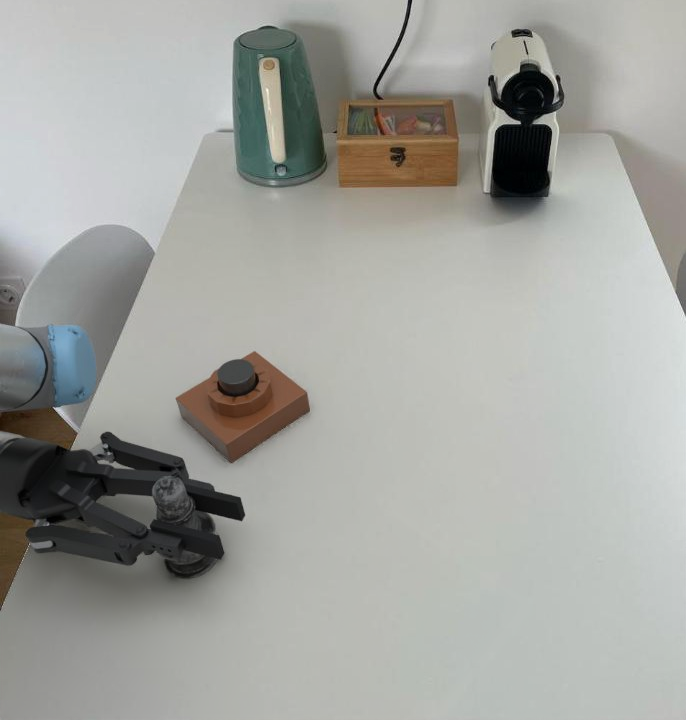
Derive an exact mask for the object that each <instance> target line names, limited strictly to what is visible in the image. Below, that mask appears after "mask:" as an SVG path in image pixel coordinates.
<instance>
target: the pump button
mask: <svg viewBox="0 0 686 720" xmlns="http://www.w3.org/2000/svg"><path fill="white" fill-rule="evenodd" d="M218 369H219V370H218V372H217V376H218V380H219V384H220V388H221V391H222V392H223V393H224V394H225V395H227V396H231V397H238V396H244V395H247V394H248V393H250V392H251V391H253V390H254V388H255V387H256V384H257V380H256V375H255V371H254V367H253V365H252V364H251V363H250V362H249V361H247V360H243V359H242V358H235V359H231V360H228V361H225V362H224V363H222V364H221V366H219V368H218Z"/></svg>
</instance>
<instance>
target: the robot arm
mask: <svg viewBox="0 0 686 720" xmlns="http://www.w3.org/2000/svg"><path fill="white" fill-rule="evenodd" d="M94 349H95V348H94V345H93V343H92V340H91V338H90V336H89V334H88V333H87V332H86V330H85V329H83V328H82V327H80V326H79V325H76V324H63V325H61V324H60V325H54V324H52V323H51V324H47V325H46V326H38V327H37V326H36V327H24V326H19V325H13V324H12V325H11V324H4V323H0V413H5V412H6V413H7V412H17V411H27V410H41V409H50V408H54V409H57V408H58V409H59V408H61V407H64V406H69V405H70V406H71V405H77V404H82V403H85V402H87V401H88V400H89V399H90V398H91V397H92V395H93V394H94V391H95V388H96V383H97V362H96V361H97V359H96V353H95V350H94ZM99 439H100V442H99V443H98V444H96V445H95V446H94V447H92V448H91V449H89V450H88V449H86V448H83V449H75V450H71V449H69V448H67V447H64V446H61V445H59V444H58V443H53V442H50V441H45V440H42V439H37V438H34V437H33V438H32V437H25V436H24V435H21V434H17V433H12V432H7V431H4V430H0V513H1V514H4V515H8V516H12V517H16V518H19V519H23V520H27V521H32V522H34V524H33V526H32V527H29V528H28V529H27V530H26V531H25V537H26V539H27V540H28V543H29V544H30V545H31V547H32V549H33V550H34V552H35V553H36V554H47V553H48V554H49V553H56V552H60V553H65V554H70V555H73V556H79V557H84V558H89V559H93V560H98V561H103V562H107V563H111V564H117V565H123V566H127V567H130V566H133V565H135V564H136V563H137V560H138V556H140V555H141V554H142V553H143V555H144V556H145V557H146V556H147V557H148V556H151V555H153V554H154V553H155V552H156V553H157V552H161V553H165V554H169V555H172V556H181V554H182V552H183V551H184V550H185V551H189V552H193V553H197V554H201V555H204V556H208V557H212V558H216V559H218V560H220V561H222V559H223V557H224V555H225V552H226V551H225V549H224V546H223V543H222V540H221V536H220V534H216V533H215V534H212V533H208V532H204V531H200V530H196V529H192V528H188V527H184V526H180V525H176V524H172V523H168V522H164V521H160V520H157V518H153V519H152V520H151V523H150V524H149V527H150V528H149V527H148V526H147V525H146V524H144V523H142V522H140V521H138V520H135V519H133V518H132V517H129V516H127V515H125V514H124V513H123V514H122V513H121V512H118V511H117V510H115V509H113V508H110V507H108V506H106V505H104V504H101V503H99V502H98V500H99V499H101V498H102V497H116V496H117V495H126V496H127V495H130V496H142V497H143V496H144V497H153V496H152V489H153V486H154V485H155V483H156V482H157V481H158V480H159V479H161V478H162V477H163V476H175V477H178V478H180V479H181V480H182V482H183V483H184V486H185V489H186V492H187V494H188V495H189V496H191V497H192V498H193V499H194V502H195V510H197V511H201V512H205V513H208V514H209V515H214V516H219V517H222V518H226V519H230V520H235V521H239V522H243V520H244V519H245V517H246V511H245V509H244V508H245V507H244V504H243V501H242V498H241V496H237V495H232V494H228V493H225V492H221V491H216V489H215V486H214V485H213V484H212V483H210V482H206V481H201V480H197V479H193V478H190V474H189V472H188V469H187V466H186V462H185V459H184V458H183V457H181V456H178V455H173V454H170V453H167V452H163V451H160V450H156V449H152V448H149V447H145V446H142V445H139V444H135V443H133V442H132V443H131V442H128V441H124V440H122V439H120V438H119V437H117V436H116V435H115V434H114V433H113V432H111V431H105V432H102V433H101V435H100V436H99ZM99 461H105V462H108V463H109V464H108V463H99ZM114 463H117V464H118V465H119V466H122V467H126V468H118V467H114V466H112V465H111V464H114ZM72 520H74V521H77V522H78V523H80V524H83V525H84V526H86V527H89V528H92V527H94V528H95V529H97V530H100V531H102V532H104V533H106V534H104V533H100V532H94V531H91V530H90V531H89V530H85V529H79V528H74V527H69V526H65V525H58V524H62V523H65V522H68V521H72Z"/></svg>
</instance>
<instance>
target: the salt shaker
mask: <svg viewBox="0 0 686 720" xmlns="http://www.w3.org/2000/svg"><path fill="white" fill-rule="evenodd" d="M151 497H152V498H153V501H154V504H155V512H154V514H155V515H154V516H155V519H156V520H160V521H164V522H168V523H172V524H176V525H180V526H184V527H188V528H192V529H196V530H200V531H204V532H208V533H212V534H216V532H217V529H216V527H217V526H216V522H215V520H214V518H213V516H211V514H210V513H205V512H201V511H197V510H195V502H194V499H193V498H192V497H191V496H189V495H188V494H187V492H186V489H185V486H184V483H183V482H182V480H181V479H180V478H178V477H175V476H163V477H162V478H161V479H159V480H158V481H157V482H156V483H155V485H154V486H153V489H152V496H151ZM156 553H157V554H158V555H159V556H160V557H162V558H163V559H164V565H165V568H166V570H167V571H168V573H169V574H171V575H172V576H174V577H175V578H178V579H184V580H185V579H186V580H187V579H188V580H189V579H195V578H198V577H201V576H203V575H205V574H206V573H208V572H210V570H211V569H212V568H213V567H214V566H215V565H216V563H217V561H218V560H219V559H216V558H212V557H208V556H204V555H201V554H197V553H193V552H189V551H185V550H184V551H183V552H182V554H181V556H172V555H169V554H165V553H161V552H157V551H156Z"/></svg>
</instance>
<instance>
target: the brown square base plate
mask: <svg viewBox="0 0 686 720" xmlns="http://www.w3.org/2000/svg"><path fill="white" fill-rule="evenodd" d="M241 359H243V360H247V361H249V362H250V363H251V364H252V365H253V367H254V371H255V375H256V380H257V384H256V387H255V388H254V390H253V391H251V392H250V393H248V394H247V395H244V396H238V397H231V396H227V395H225V394H224V393H223V392H222V391H221V388H220V384H219V380H218V376H217V372H218V370H219V368H217V369H215V370H213V372H212V374H211V375H210V377H208V378H206V379H205V380H203V381H201V382H200V383H197V384H196V385H195V386H193V387H190V389H188V390H186V391H184V392H183V393H181V394H179V395H178V396H176V397H175V402H176V405H177V407H178V410H179V413H180V417H182V419H184V420H185V421H186V422H187V423H188V424H189V426H191V427H192V428H194V429H195V431H197V432H198V433H199V434H200V435H201V436H202V437H203V438H204V439H205V440H206V441H207V442H208V443H210V445H212V446H213V448H215V450H217V451H218V452H219V453H220V454H221V455H222V456H223V457H224V458H225V459H226V460H228V462H230V463H233V462H235V461H237V460H238V459H239V458H241V457H242V456H244V455H245V454H247V453H248V452H250V451H252V450H253V449H254V448H256V447H258V446H259V445H261V444H262V443H263V442H265V441H266V440H268V439H269V438H271V437H272V436H274V435H275V434H277V433H279V432H280V431H281V430H283V429H284V428H286V427H288V426H289V425H290V424H292V423H294V422H295V421H297V420H298V419H299V418H301V417H303V416H304V415H306V414H307V413H308V412H310V411H311V408H310V400H309V396H308V395H309V394H308V391H307V390H305V389H304V388H303V387H302V386H300V384H297V382H295V381H294V380H293V379H291V378H290V377H289V376H288V375H287V374H285V373H283V372H282V371H281V370H280V369H278V368H277V367H276V366H275V365H274V364H272V363H271V362H270V361H268V360H267V359H266V358H265V357H263V356H262V355H261V354H259V353H258V352H257V351H256V350H254V351H252V352H250V353H249V354H247V355H245V356H244V357H242V358H241Z"/></svg>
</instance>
